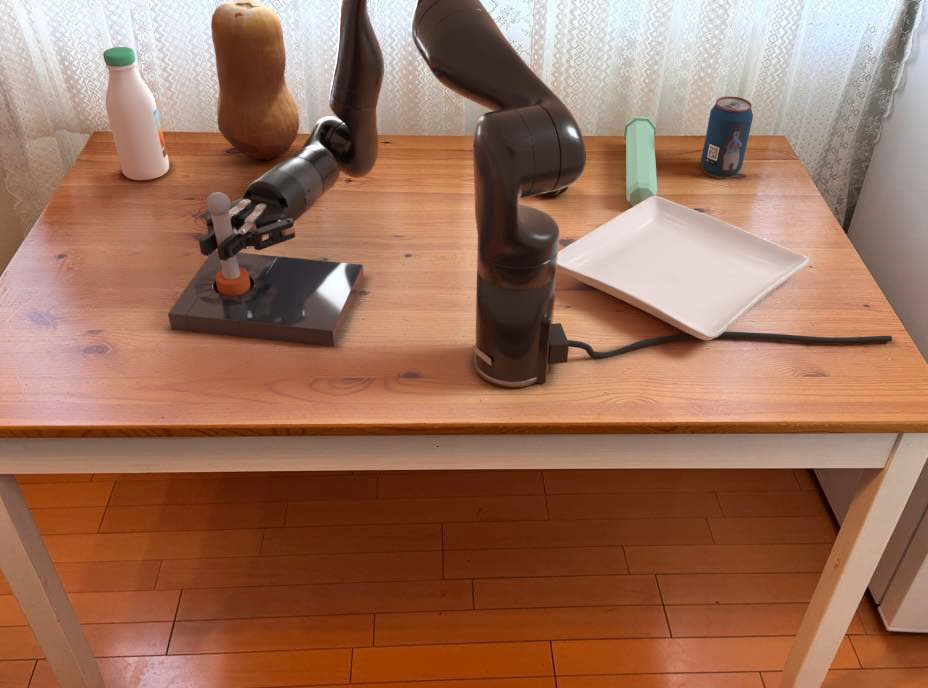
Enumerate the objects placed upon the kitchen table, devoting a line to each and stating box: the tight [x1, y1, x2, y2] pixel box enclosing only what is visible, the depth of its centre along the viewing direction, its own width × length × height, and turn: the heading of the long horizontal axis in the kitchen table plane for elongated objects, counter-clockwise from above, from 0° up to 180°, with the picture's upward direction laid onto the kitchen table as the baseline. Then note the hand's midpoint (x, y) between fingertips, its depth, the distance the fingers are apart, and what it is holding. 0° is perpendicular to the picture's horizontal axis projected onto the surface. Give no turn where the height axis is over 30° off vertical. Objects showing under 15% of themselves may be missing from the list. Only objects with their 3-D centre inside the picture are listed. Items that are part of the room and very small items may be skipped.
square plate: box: [556, 195, 812, 341], centre depth 129 cm, size 27×27×4 cm
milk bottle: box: [102, 46, 170, 181], centre depth 147 cm, size 8×8×20 cm
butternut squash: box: [210, 0, 300, 161], centre depth 151 cm, size 14×13×25 cm
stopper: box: [205, 191, 251, 296], centre depth 119 cm, size 4×4×15 cm
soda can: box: [700, 96, 754, 179], centre depth 153 cm, size 7×7×12 cm
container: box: [622, 115, 658, 207], centre depth 153 cm, size 6×6×25 cm
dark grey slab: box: [167, 249, 365, 347], centre depth 123 cm, size 22×16×2 cm
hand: (211, 251), depth 117 cm, fingers closed on stopper, 2 cm apart
